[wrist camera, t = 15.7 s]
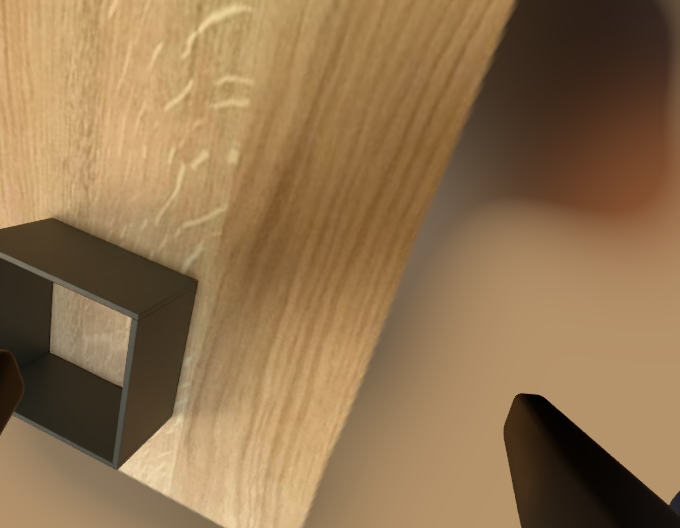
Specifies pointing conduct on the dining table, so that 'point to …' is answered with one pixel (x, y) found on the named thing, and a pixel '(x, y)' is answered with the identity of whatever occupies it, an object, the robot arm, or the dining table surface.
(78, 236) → the dark grey square tray
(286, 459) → the dining table surface
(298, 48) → the dining table surface
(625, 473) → the robot arm
